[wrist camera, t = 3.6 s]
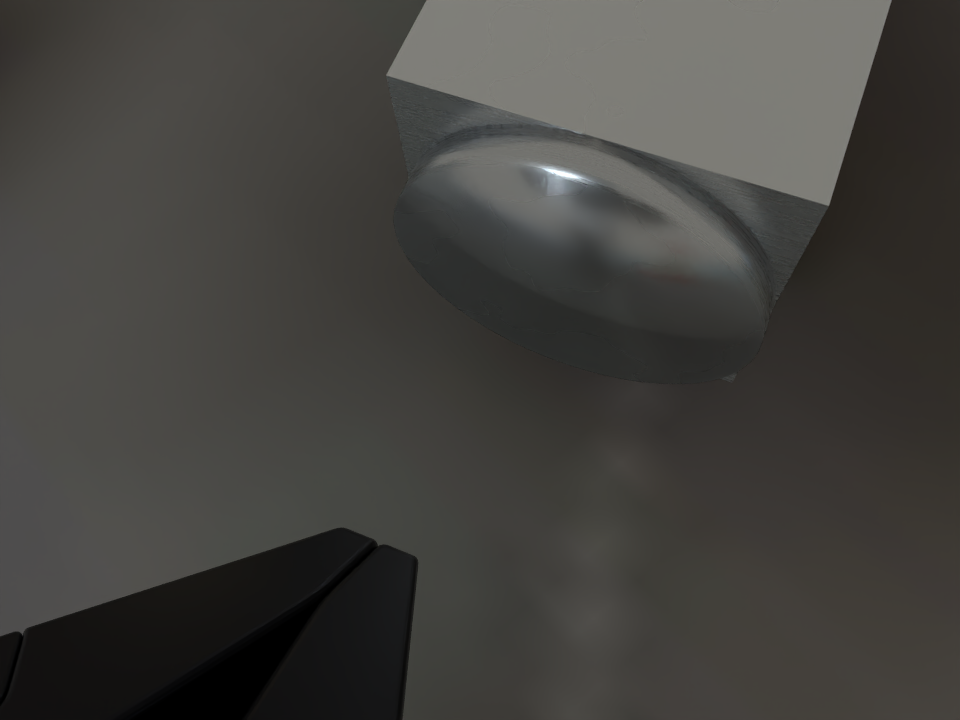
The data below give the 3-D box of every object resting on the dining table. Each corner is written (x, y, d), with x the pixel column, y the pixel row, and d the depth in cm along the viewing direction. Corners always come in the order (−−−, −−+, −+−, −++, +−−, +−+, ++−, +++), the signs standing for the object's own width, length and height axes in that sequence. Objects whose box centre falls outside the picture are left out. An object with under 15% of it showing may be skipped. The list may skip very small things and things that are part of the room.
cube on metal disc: (721, 417, 18) (813, 254, 12) (417, 312, 19) (363, 117, 13) (819, 113, 21) (935, -145, 15) (546, 38, 22) (550, -229, 16)
